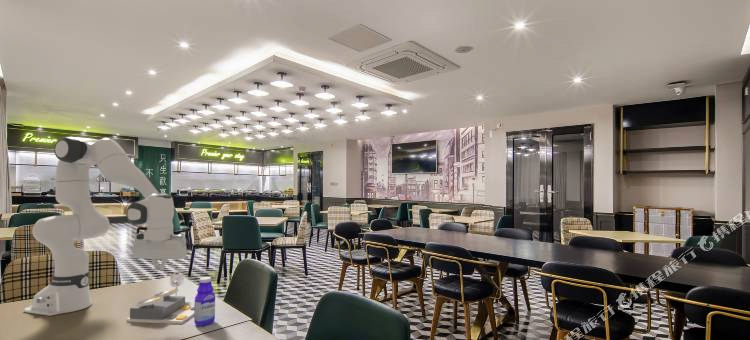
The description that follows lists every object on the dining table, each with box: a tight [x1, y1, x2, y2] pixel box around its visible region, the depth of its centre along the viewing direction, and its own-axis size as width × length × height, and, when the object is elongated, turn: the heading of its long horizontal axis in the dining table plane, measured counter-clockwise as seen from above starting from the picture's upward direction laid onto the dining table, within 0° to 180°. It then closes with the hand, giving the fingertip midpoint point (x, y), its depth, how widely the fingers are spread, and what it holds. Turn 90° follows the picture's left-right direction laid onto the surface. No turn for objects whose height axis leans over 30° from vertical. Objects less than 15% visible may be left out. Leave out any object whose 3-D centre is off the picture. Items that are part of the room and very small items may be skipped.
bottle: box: [193, 276, 216, 327], centre depth 139 cm, size 7×6×17 cm
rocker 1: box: [136, 297, 164, 307], centre depth 141 cm, size 8×4×2 cm, turn 88°
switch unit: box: [125, 295, 195, 325], centre depth 146 cm, size 22×16×6 cm
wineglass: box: [168, 271, 185, 296], centre depth 164 cm, size 6×6×12 cm
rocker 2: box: [153, 287, 179, 298], centre depth 151 cm, size 8×4×2 cm, turn 88°
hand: (159, 269), depth 141 cm, fingers closed
